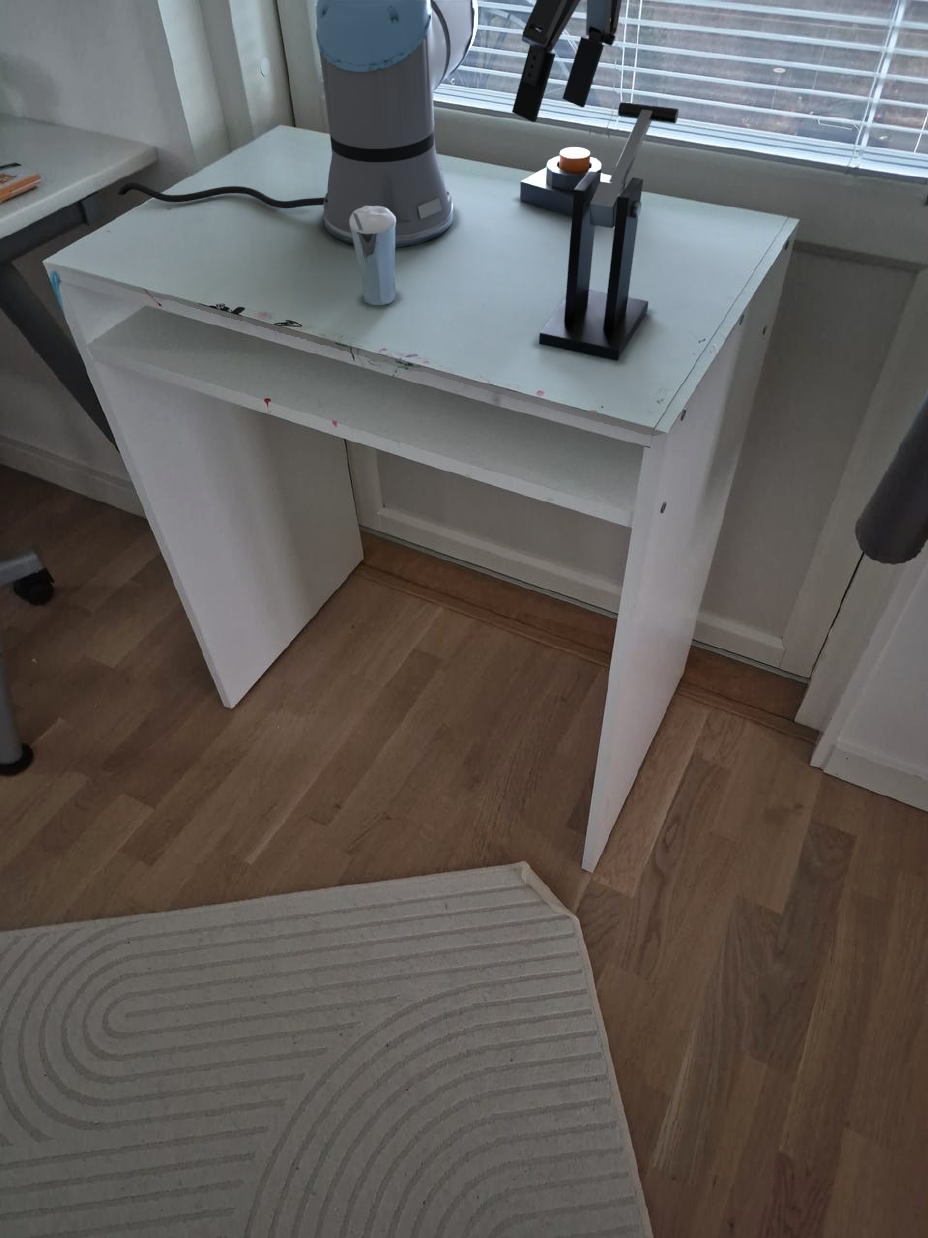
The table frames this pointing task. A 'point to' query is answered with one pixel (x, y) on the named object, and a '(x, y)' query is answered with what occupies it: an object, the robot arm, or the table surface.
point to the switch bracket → (585, 313)
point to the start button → (574, 159)
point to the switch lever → (626, 160)
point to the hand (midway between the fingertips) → (549, 109)
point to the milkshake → (375, 252)
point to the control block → (556, 185)
